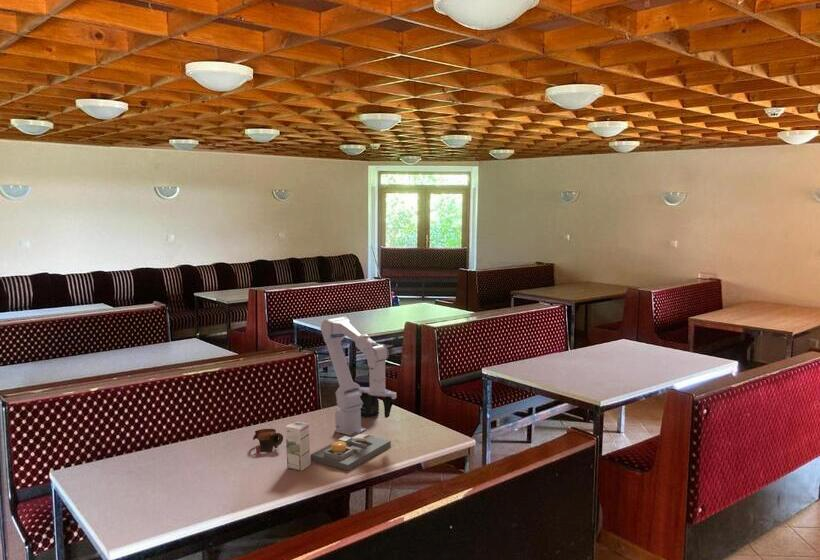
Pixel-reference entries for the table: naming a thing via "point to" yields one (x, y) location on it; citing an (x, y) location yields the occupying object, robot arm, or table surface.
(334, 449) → the push button
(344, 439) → the pale beige block
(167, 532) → the table surface
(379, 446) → the control panel
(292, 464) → the syrup box
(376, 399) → the storage jar
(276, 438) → the pottery mug
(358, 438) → the plate
